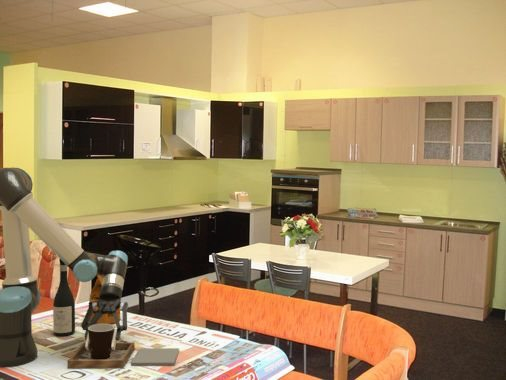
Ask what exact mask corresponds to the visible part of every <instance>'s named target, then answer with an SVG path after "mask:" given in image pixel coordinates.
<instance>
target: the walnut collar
mask: <svg viewBox="0 0 506 380" xmlns="http://www.w3.org/2000/svg"><path fill="white" fill-rule="evenodd" d="M85 344H86V342H83V343H82V344H81V345H80V346H79V347H78V349H76V350H75V351H74V353H73V354H72V355H71V356H70V357H69V358H68V359H67V361H66V362H67V364H66V365H67V366H66V367H67V369H125V366H126V364H127V363H128V361H129V359H131V356H132V354H133V353H134V351H135V350H136V349H135V348H136V347H135V346H136V345H135V342H116V347H115V350H112V348H111V352H112V351H125V353H124V354H123V355H122V357H121V359H120V358H119V359H118V358H117V359H116V358H115V359H111V358H108V359H104V360H93V359H80V358H81V357H82V355H84V353H85V352H87V351H89V352H90V348H89V350H86V348H85Z"/></svg>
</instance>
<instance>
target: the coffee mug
mask: <svg viewBox="0 0 506 380" xmlns="http://www.w3.org/2000/svg"><path fill="white" fill-rule="evenodd" d="M114 329H116V328H115V325H114V324H95V325H92V326H89V327H88V334H89V345H90V351H89V353H90V355H89V357H90V360H104V359H111V355H112V351H111V345H112V340H113V334H114Z"/></svg>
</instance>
